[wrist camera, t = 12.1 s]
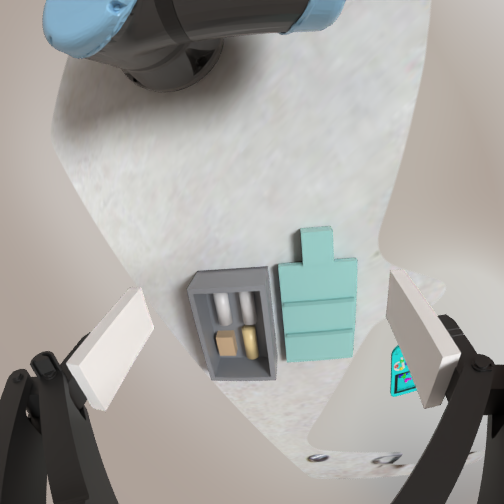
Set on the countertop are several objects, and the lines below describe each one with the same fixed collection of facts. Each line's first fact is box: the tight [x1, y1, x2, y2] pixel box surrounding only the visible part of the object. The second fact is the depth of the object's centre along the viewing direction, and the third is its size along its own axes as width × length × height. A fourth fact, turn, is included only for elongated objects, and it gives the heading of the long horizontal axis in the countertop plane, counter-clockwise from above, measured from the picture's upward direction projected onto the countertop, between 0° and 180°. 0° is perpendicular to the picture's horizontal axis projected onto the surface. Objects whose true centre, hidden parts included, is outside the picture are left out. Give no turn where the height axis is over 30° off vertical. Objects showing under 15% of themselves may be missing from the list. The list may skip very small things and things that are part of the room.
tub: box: [187, 266, 277, 381], centre depth 47 cm, size 18×11×6 cm, turn 7°
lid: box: [278, 226, 357, 362], centre depth 46 cm, size 24×12×2 cm, turn 7°
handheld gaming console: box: [390, 345, 417, 397], centre depth 51 cm, size 8×1×15 cm
